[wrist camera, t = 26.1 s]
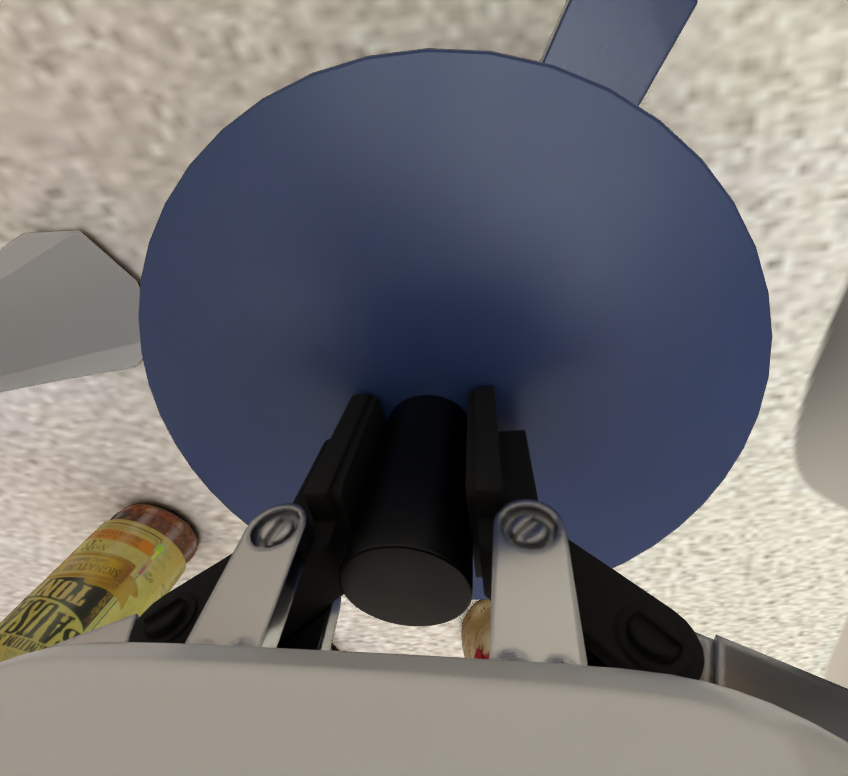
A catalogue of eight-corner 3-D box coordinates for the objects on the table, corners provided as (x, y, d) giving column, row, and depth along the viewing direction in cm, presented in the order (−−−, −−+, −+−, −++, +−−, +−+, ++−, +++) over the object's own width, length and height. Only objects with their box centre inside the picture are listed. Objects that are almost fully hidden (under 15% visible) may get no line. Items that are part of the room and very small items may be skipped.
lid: (161, 488, 16) (10, 648, 11) (178, -118, 7) (-633, -863, 2) (534, 617, 18) (559, 806, 13) (923, 265, 9) (1550, 420, 4)
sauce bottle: (182, 498, 27) (-328, 1102, 10) (215, 556, 30) (-125, 1087, 13) (98, 496, 27) (-499, 1045, 11) (140, 553, 31) (-269, 1044, 14)
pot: (242, 434, 23) (170, 522, 17) (336, -88, 12) (214, -303, 6) (495, 527, 25) (501, 633, 19) (792, 153, 13) (1011, 153, 8)
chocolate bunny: (561, 617, 29) (597, 810, 20) (480, 646, 32) (482, 821, 24) (515, 581, 27) (534, 774, 19) (434, 615, 31) (420, 792, 22)
